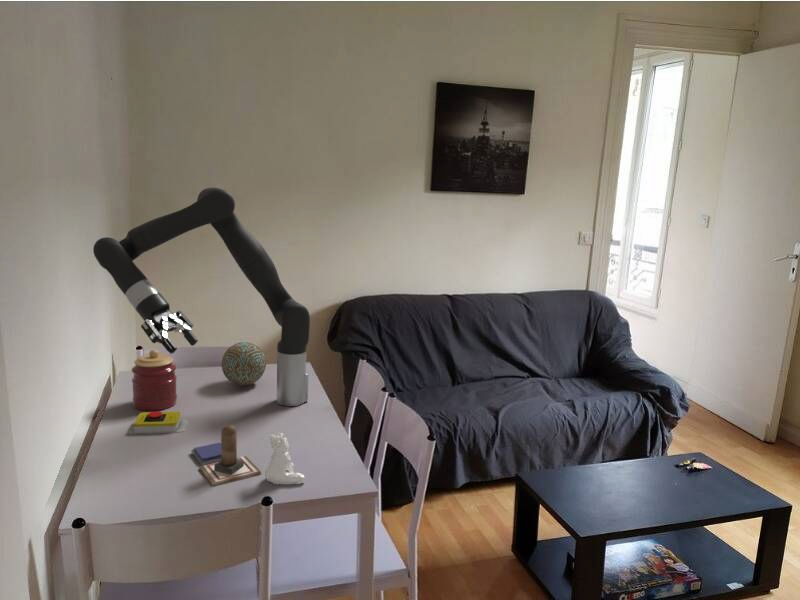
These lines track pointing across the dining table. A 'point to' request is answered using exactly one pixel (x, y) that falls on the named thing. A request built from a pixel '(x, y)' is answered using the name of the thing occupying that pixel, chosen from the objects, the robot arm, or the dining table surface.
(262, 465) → the dining table surface
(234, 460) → the stamp
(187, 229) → the robot arm
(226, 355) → the decorative sphere
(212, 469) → the framed board
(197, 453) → the ink pad
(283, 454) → the seated beast figurine
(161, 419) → the emergency button
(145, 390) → the canister
